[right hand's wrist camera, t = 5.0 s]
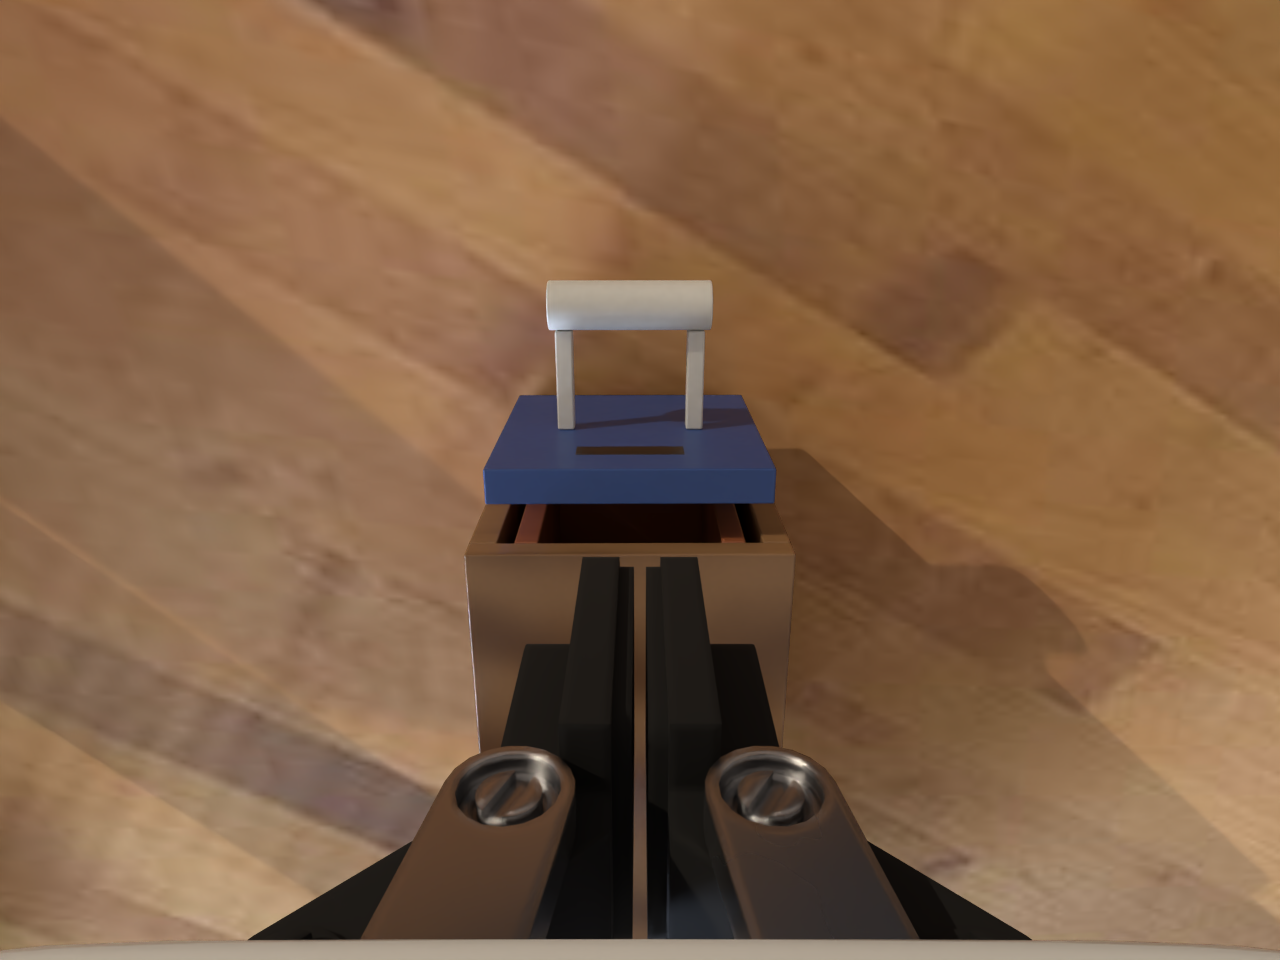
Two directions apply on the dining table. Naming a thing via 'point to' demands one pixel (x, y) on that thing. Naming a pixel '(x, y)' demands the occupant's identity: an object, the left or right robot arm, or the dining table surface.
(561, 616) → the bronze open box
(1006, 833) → the dining table surface
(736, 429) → the drawer
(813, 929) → the right robot arm
